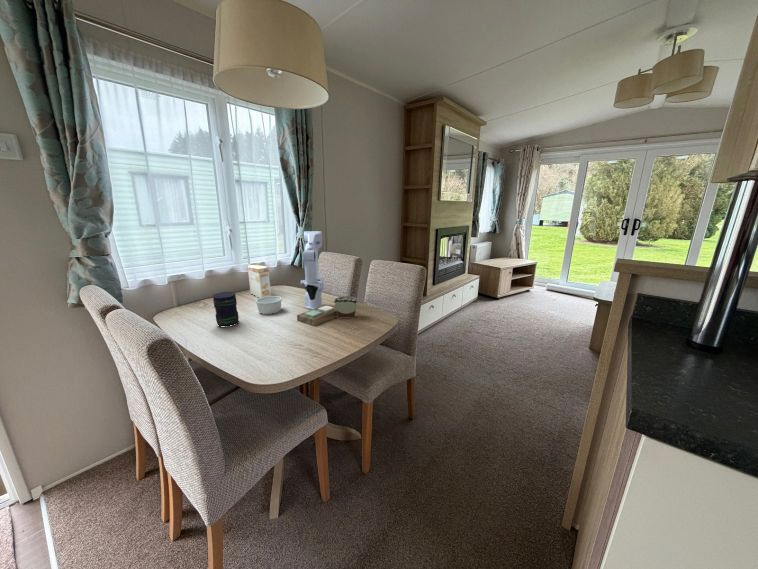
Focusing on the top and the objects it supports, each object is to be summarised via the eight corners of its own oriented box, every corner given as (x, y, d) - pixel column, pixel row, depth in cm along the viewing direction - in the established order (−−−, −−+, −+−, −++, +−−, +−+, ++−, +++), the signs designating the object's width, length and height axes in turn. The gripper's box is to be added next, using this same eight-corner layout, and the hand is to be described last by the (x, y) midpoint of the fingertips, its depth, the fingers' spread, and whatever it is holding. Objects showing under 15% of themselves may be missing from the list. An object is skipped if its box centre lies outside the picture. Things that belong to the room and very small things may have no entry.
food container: (359, 314, 157) (359, 296, 154) (357, 318, 151) (357, 299, 148) (337, 313, 158) (336, 295, 156) (334, 317, 152) (333, 299, 150)
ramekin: (277, 315, 155) (276, 303, 153) (252, 315, 155) (251, 302, 154) (285, 307, 168) (284, 295, 166) (263, 307, 168) (261, 295, 166)
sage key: (305, 317, 147) (304, 313, 147) (313, 314, 152) (313, 310, 152) (313, 320, 144) (312, 315, 144) (322, 316, 149) (321, 312, 148)
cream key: (318, 313, 155) (317, 308, 154) (326, 309, 159) (326, 305, 159) (326, 315, 151) (326, 310, 151) (334, 312, 156) (334, 307, 155)
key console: (297, 320, 148) (296, 315, 147) (325, 309, 163) (325, 304, 163) (313, 326, 141) (313, 320, 140) (341, 314, 157) (341, 308, 156)
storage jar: (234, 318, 151) (231, 290, 147) (242, 323, 144) (239, 294, 140) (213, 323, 144) (209, 294, 140) (221, 329, 137) (216, 298, 133)
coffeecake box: (271, 296, 188) (268, 267, 184) (261, 299, 183) (257, 268, 178) (260, 292, 198) (257, 264, 193) (250, 294, 193) (246, 265, 188)
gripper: (295, 273, 149) (296, 298, 152) (314, 277, 141) (316, 303, 144) (305, 271, 154) (307, 295, 158) (325, 274, 146) (326, 300, 150)
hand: (312, 299), depth 151 cm, fingers closed
